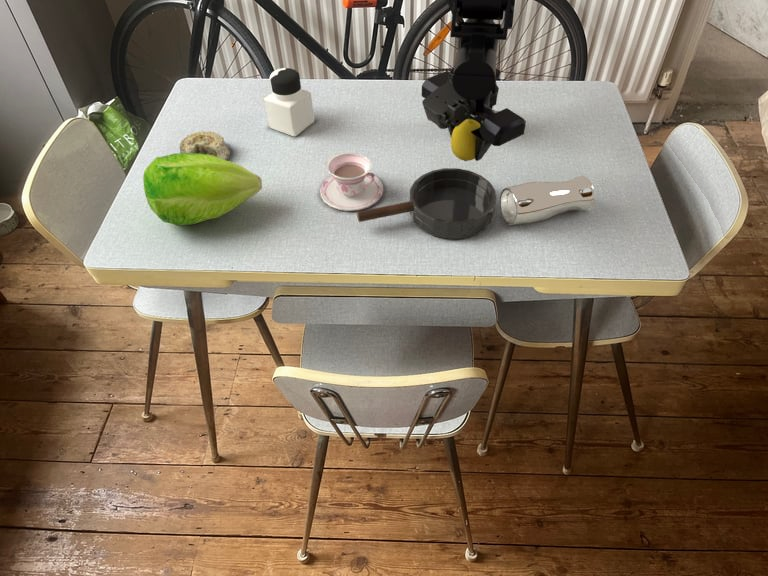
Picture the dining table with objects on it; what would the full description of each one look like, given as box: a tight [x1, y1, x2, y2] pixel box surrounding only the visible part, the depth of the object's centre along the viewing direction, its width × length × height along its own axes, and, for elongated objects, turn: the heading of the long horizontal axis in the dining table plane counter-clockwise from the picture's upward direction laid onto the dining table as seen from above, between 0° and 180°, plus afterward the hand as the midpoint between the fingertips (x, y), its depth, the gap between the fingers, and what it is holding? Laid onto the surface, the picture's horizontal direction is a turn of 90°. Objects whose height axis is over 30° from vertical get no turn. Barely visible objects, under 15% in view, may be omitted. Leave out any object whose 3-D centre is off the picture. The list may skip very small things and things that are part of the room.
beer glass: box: [499, 175, 595, 226], centre depth 101 cm, size 7×7×15 cm
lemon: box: [450, 119, 480, 162], centre depth 95 cm, size 6×6×8 cm
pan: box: [409, 167, 498, 240], centre depth 103 cm, size 15×15×4 cm
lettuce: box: [142, 152, 263, 226], centre depth 101 cm, size 14×20×12 cm
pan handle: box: [356, 200, 414, 223], centre depth 100 cm, size 2×10×2 cm, turn 106°
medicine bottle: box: [263, 67, 315, 138], centre depth 120 cm, size 7×7×12 cm
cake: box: [179, 130, 231, 160], centre depth 116 cm, size 10×10×5 cm
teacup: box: [319, 152, 384, 212], centre depth 107 cm, size 12×12×6 cm
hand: (466, 151), depth 97 cm, fingers closed on lemon, 5 cm apart
